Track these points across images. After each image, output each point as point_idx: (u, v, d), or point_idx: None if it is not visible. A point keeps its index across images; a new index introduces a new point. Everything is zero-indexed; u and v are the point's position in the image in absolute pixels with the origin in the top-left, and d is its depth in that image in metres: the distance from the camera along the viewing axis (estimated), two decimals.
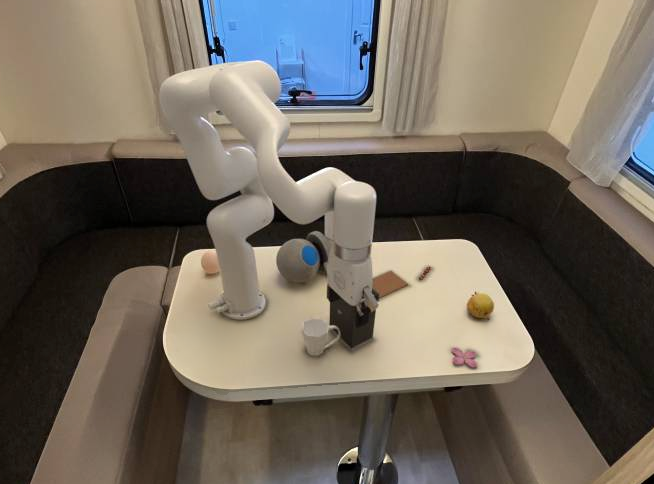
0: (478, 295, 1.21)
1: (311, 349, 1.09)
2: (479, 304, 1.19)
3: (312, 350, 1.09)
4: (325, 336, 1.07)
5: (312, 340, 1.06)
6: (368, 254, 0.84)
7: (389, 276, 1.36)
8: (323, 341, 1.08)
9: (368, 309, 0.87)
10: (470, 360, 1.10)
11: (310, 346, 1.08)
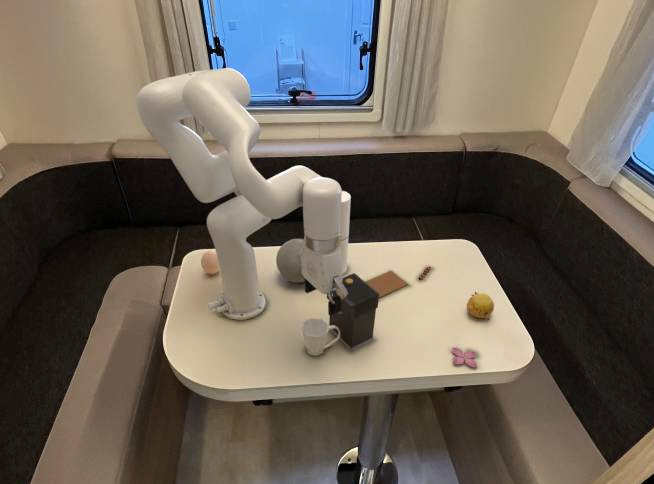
0: (478, 295, 1.21)
1: (311, 349, 1.09)
2: (479, 304, 1.19)
3: (312, 350, 1.09)
4: (325, 336, 1.07)
5: (312, 340, 1.06)
6: (337, 245, 0.90)
7: (389, 276, 1.36)
8: (323, 341, 1.08)
9: (338, 297, 0.93)
10: (470, 360, 1.10)
11: (310, 346, 1.08)
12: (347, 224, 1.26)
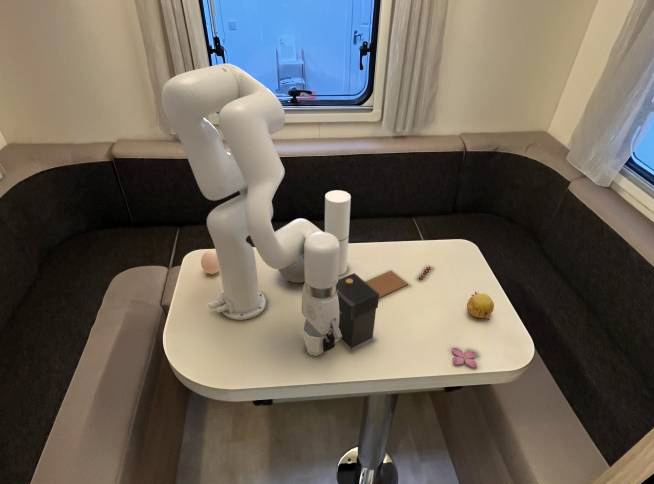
0: (478, 295, 1.21)
1: (311, 349, 1.09)
2: (479, 304, 1.19)
3: (312, 350, 1.09)
4: None
5: (313, 341, 1.06)
6: (334, 292, 0.98)
7: (389, 276, 1.36)
8: None
9: (332, 337, 1.03)
10: (470, 360, 1.10)
11: (311, 346, 1.08)
12: (347, 224, 1.26)
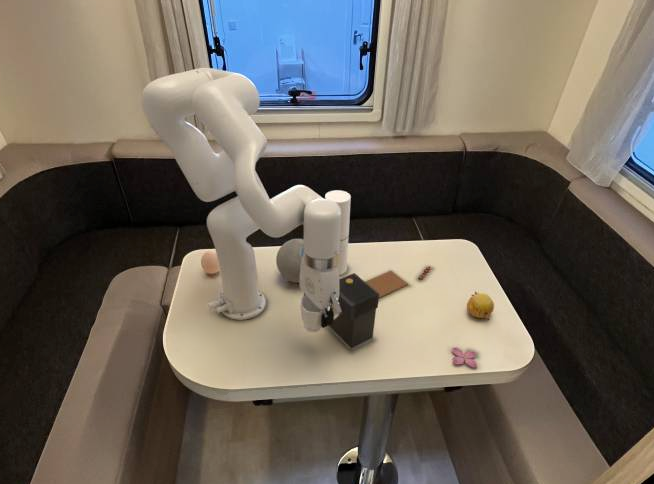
0: (478, 295, 1.21)
1: (309, 326, 1.04)
2: (479, 304, 1.19)
3: (310, 327, 1.04)
4: None
5: (311, 316, 1.01)
6: (335, 263, 0.93)
7: (389, 276, 1.36)
8: None
9: (331, 312, 0.98)
10: (470, 360, 1.10)
11: (308, 322, 1.03)
12: (347, 224, 1.26)
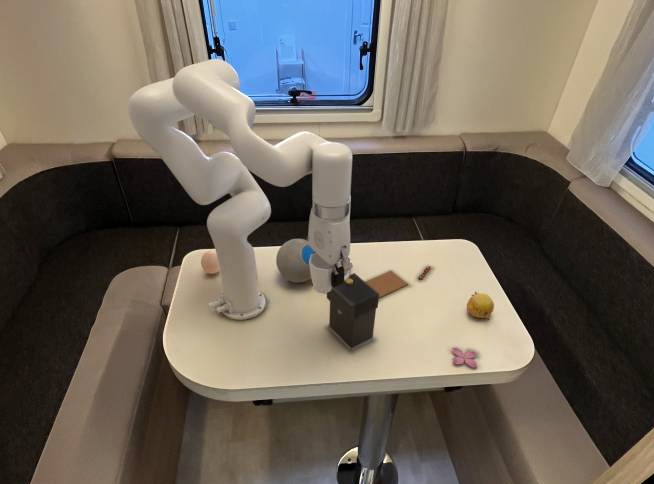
0: (478, 295, 1.21)
1: (318, 285, 0.99)
2: (479, 304, 1.19)
3: (319, 287, 0.99)
4: None
5: (320, 274, 0.96)
6: (345, 214, 0.88)
7: (389, 276, 1.36)
8: None
9: (342, 268, 0.93)
10: (470, 360, 1.10)
11: (318, 281, 0.98)
12: None
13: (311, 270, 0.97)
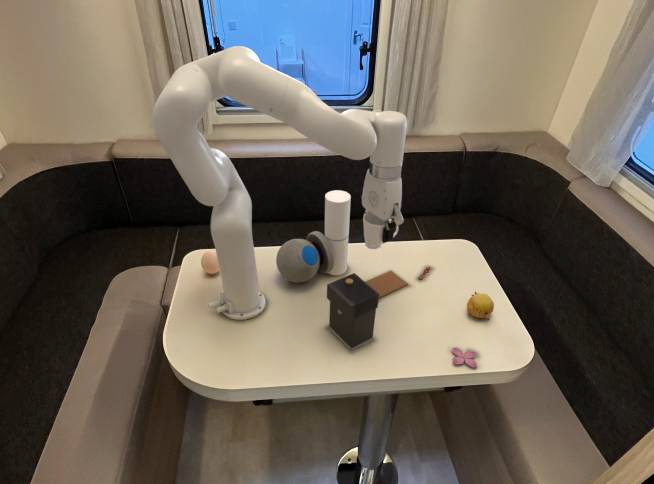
0: (478, 295, 1.21)
1: (370, 241, 1.12)
2: (479, 304, 1.19)
3: (371, 243, 1.13)
4: None
5: (373, 230, 1.09)
6: (399, 174, 1.01)
7: (389, 276, 1.36)
8: None
9: (394, 223, 1.06)
10: (470, 360, 1.10)
11: (370, 237, 1.11)
12: (347, 224, 1.26)
13: (365, 227, 1.11)
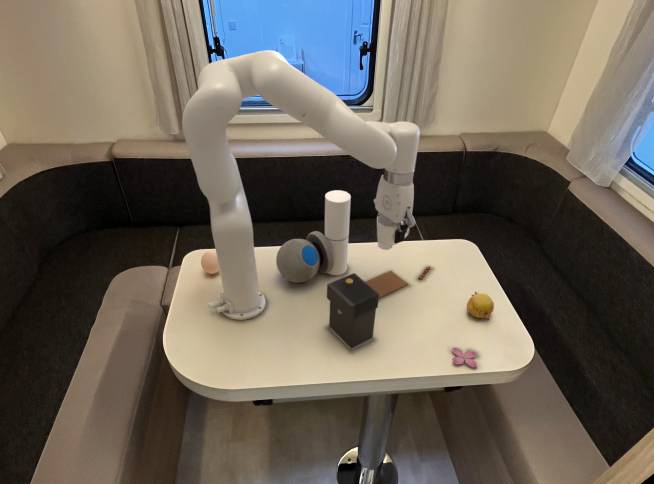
0: (478, 295, 1.21)
1: (383, 242, 1.20)
2: (479, 304, 1.19)
3: (384, 243, 1.20)
4: None
5: (386, 231, 1.17)
6: (411, 180, 1.09)
7: (389, 276, 1.36)
8: None
9: (406, 225, 1.14)
10: (470, 360, 1.10)
11: (383, 239, 1.19)
12: (347, 224, 1.26)
13: (378, 229, 1.18)
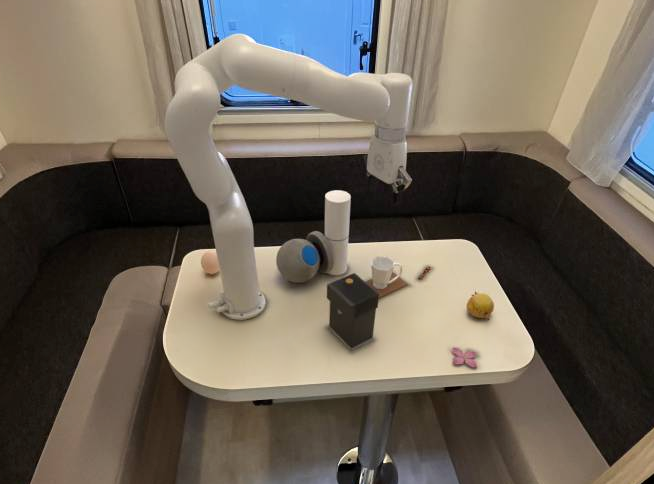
0: (478, 295, 1.21)
1: (378, 283, 1.29)
2: (479, 304, 1.19)
3: (379, 284, 1.29)
4: (391, 270, 1.27)
5: (380, 273, 1.26)
6: (404, 136, 1.03)
7: None
8: (389, 275, 1.28)
9: (403, 185, 1.07)
10: (470, 360, 1.10)
11: (378, 280, 1.28)
12: (347, 224, 1.26)
13: (373, 271, 1.27)
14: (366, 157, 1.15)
